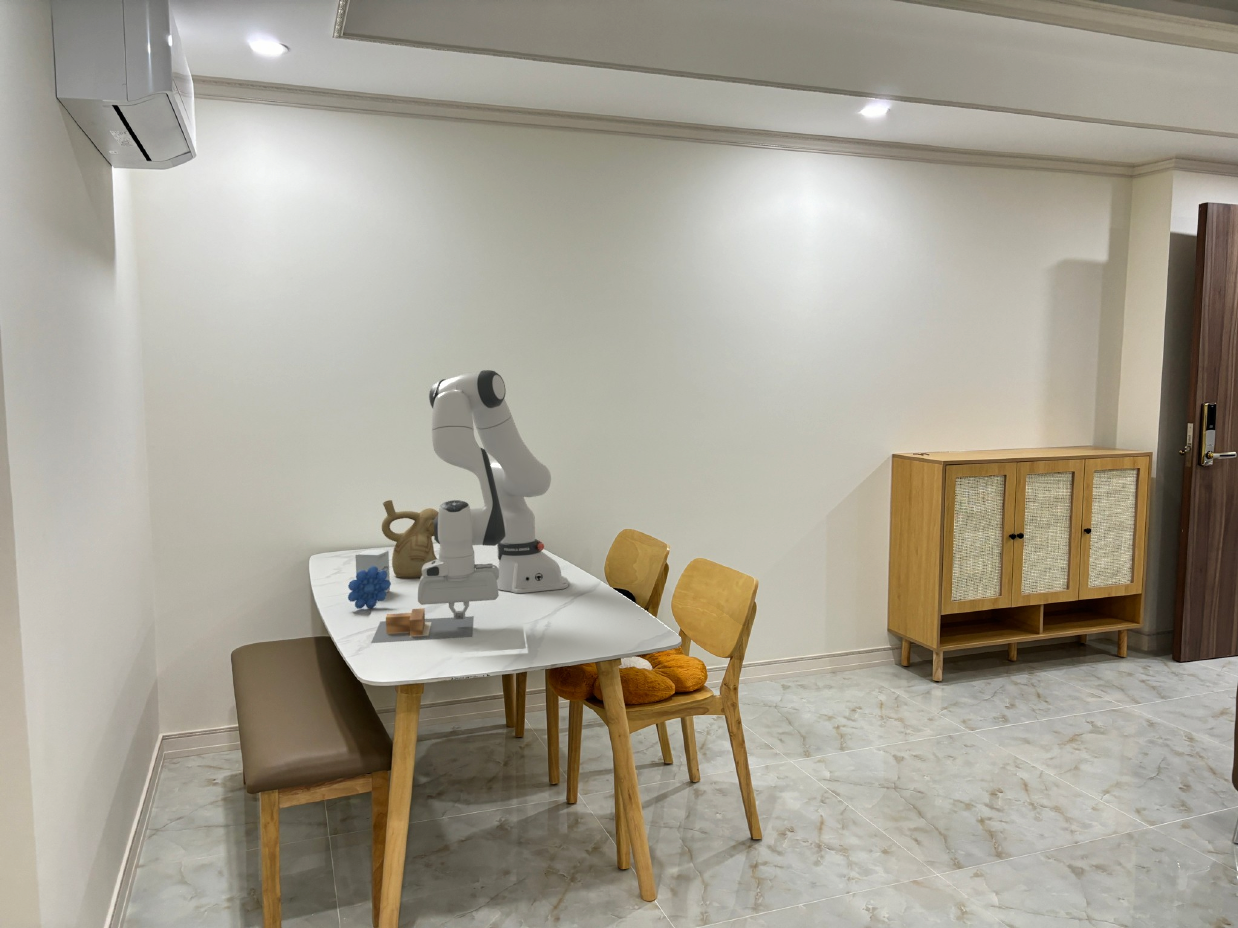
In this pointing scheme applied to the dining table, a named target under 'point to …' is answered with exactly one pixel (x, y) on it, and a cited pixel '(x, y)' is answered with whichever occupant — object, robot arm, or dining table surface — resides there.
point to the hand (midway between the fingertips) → (459, 618)
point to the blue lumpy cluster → (368, 587)
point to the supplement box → (373, 561)
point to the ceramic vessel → (410, 540)
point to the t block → (406, 622)
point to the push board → (429, 630)
